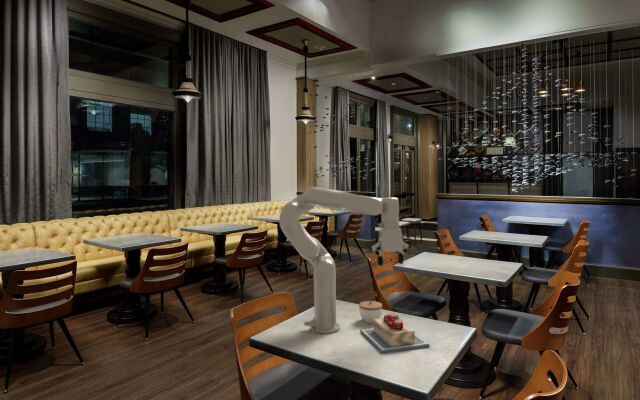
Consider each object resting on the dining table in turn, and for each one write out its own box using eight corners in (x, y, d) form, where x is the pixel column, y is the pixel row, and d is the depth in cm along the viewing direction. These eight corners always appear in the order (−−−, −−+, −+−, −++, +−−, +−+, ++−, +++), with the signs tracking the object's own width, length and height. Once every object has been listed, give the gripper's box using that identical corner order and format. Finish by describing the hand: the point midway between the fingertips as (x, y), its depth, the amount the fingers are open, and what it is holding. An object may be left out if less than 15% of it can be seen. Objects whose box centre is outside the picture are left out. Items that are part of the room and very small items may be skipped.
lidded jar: (357, 324, 175) (357, 303, 175) (360, 316, 186) (360, 297, 185) (381, 325, 173) (381, 305, 173) (383, 317, 183) (383, 298, 183)
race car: (382, 319, 164) (382, 310, 164) (395, 318, 164) (394, 309, 164) (391, 330, 150) (391, 320, 150) (404, 330, 151) (404, 320, 151)
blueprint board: (382, 353, 144) (382, 337, 144) (360, 332, 165) (360, 318, 165) (429, 346, 149) (429, 331, 149) (402, 327, 170) (402, 313, 170)
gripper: (375, 227, 163) (376, 267, 163) (412, 225, 167) (412, 264, 168) (368, 225, 170) (369, 264, 170) (403, 224, 174) (404, 261, 175)
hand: (390, 264), depth 169 cm, fingers open, 9 cm apart
